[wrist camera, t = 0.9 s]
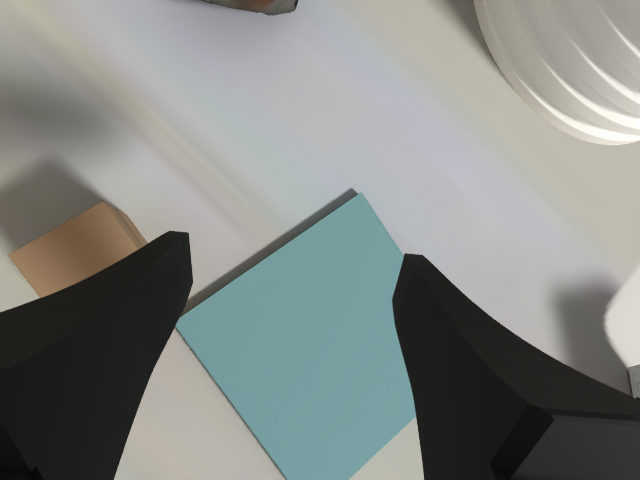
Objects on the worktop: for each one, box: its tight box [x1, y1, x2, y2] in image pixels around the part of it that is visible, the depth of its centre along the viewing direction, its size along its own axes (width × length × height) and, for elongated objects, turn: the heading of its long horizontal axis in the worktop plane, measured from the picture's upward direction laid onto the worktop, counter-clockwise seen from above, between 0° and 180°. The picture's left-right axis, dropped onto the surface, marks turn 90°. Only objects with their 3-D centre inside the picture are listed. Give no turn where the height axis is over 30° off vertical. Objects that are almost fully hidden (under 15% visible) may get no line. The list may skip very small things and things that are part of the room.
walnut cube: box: [8, 201, 148, 298], centre depth 21 cm, size 5×5×5 cm
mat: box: [176, 192, 416, 480], centre depth 26 cm, size 16×16×1 cm
